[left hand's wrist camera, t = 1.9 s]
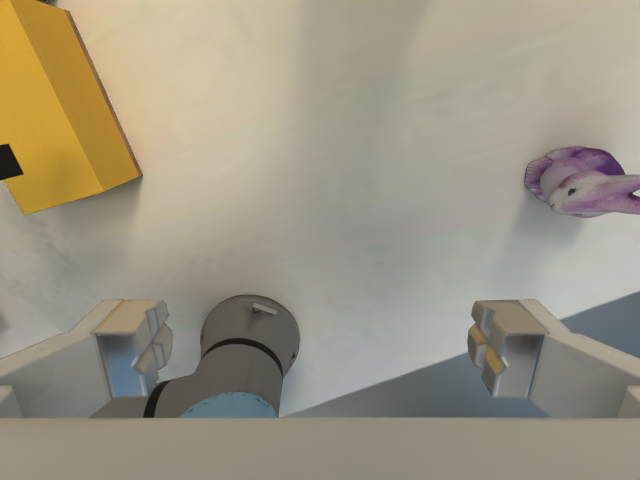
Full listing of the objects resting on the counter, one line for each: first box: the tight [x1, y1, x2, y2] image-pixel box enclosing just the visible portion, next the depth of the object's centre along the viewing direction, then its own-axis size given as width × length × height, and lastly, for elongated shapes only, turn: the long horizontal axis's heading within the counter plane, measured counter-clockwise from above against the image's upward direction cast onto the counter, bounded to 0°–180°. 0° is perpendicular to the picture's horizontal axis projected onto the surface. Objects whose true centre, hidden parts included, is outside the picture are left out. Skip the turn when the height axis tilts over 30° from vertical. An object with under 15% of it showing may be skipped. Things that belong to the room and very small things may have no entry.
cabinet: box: [0, 0, 143, 215], centre depth 44 cm, size 20×10×10 cm, turn 16°
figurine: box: [525, 146, 640, 218], centre depth 44 cm, size 9×10×15 cm
